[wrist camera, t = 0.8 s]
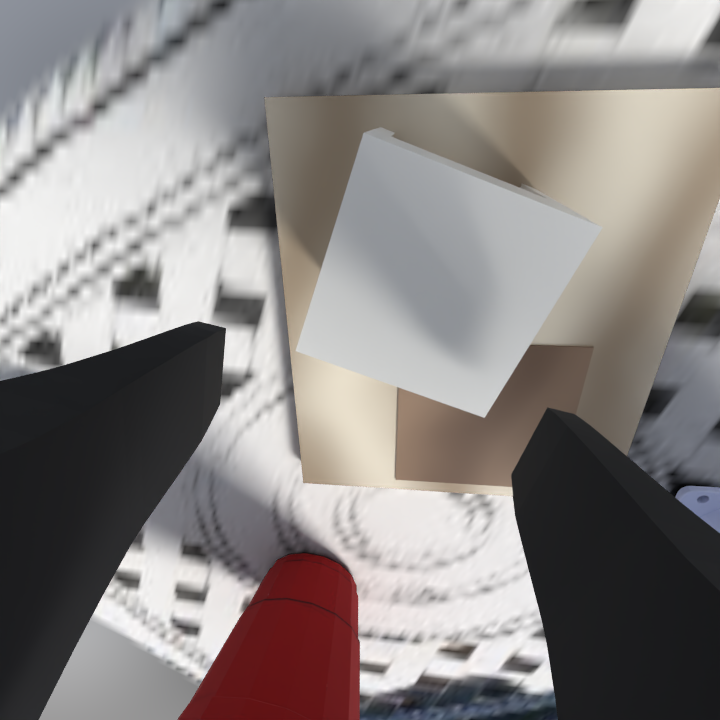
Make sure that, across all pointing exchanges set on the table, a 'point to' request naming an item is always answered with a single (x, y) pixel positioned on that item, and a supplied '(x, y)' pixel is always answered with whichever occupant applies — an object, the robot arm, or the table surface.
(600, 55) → the table surface
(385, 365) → the white tabletop archway
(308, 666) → the plastic cup
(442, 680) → the table surface
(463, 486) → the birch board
